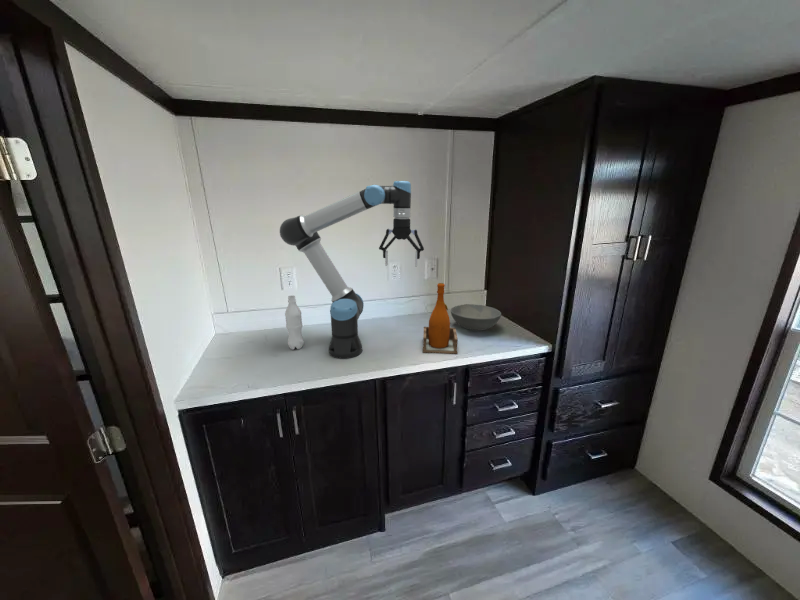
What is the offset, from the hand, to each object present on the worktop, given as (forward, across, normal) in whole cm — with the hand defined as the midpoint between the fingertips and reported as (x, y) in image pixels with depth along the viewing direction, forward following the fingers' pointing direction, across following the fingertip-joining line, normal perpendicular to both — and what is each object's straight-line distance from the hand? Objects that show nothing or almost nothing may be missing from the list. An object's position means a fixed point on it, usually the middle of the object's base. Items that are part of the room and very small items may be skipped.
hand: (401, 265), depth 158 cm
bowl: (+38, +38, +21) cm, 58 cm away
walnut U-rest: (+37, +19, -4) cm, 42 cm away
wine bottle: (+37, +18, -5) cm, 41 cm away
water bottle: (+38, -48, -12) cm, 62 cm away
